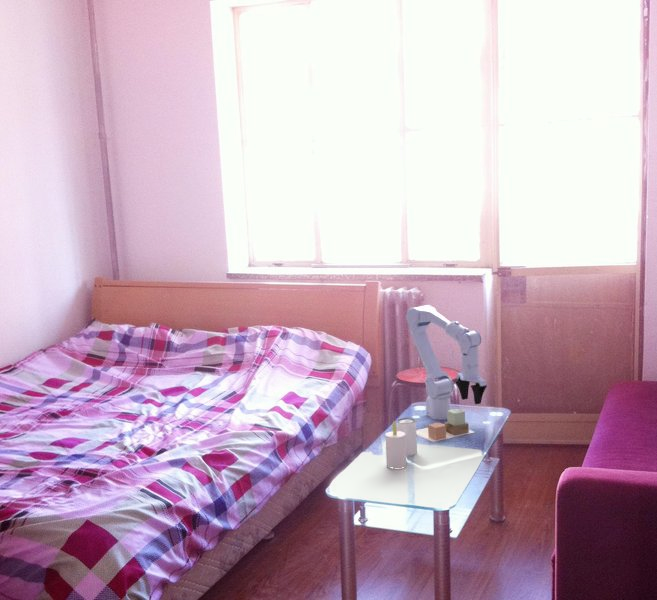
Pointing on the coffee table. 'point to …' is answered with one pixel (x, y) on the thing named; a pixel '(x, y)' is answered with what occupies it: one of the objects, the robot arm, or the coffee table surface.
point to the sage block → (456, 417)
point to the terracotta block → (437, 431)
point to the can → (408, 434)
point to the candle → (395, 448)
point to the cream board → (425, 435)
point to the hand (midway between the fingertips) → (471, 401)
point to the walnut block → (457, 428)
